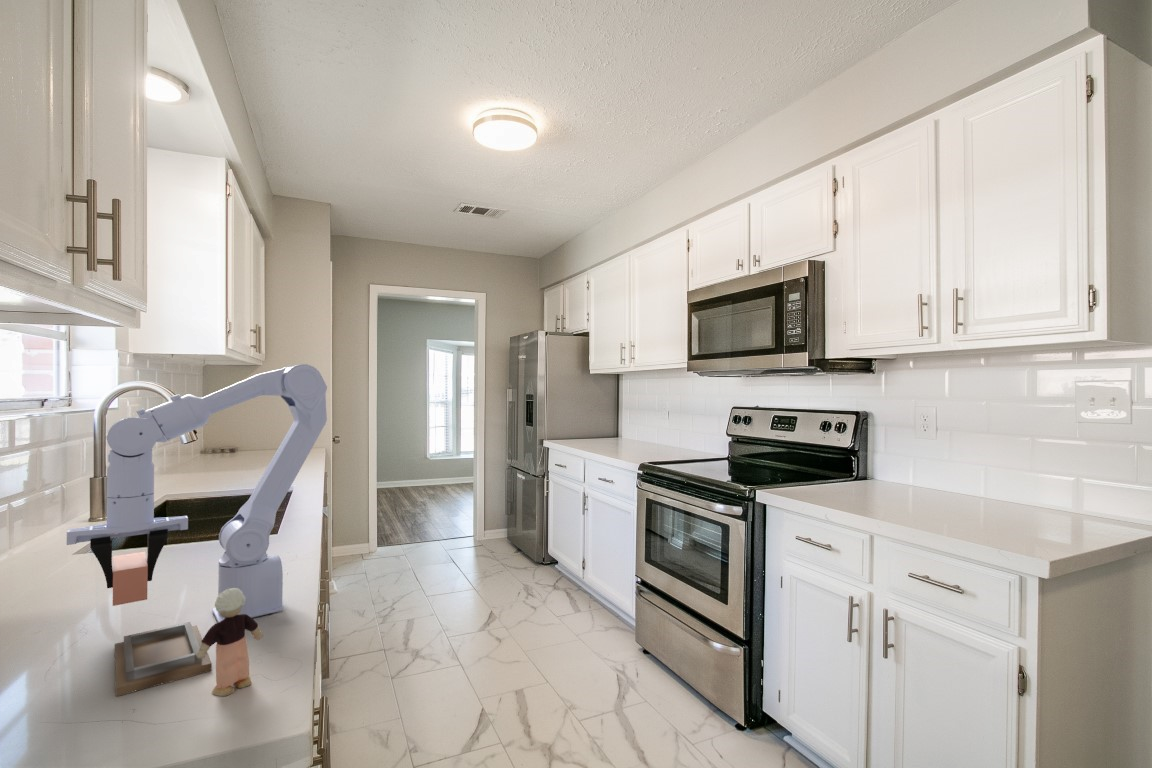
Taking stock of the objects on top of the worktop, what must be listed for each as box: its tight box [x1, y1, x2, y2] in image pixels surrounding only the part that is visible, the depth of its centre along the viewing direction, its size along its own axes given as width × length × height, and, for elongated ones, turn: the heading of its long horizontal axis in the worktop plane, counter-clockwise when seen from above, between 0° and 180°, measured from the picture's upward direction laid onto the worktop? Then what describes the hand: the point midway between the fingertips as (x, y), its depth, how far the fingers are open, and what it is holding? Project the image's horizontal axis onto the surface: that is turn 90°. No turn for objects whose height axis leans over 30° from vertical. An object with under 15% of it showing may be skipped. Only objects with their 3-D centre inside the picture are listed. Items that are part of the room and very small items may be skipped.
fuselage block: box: [112, 551, 149, 607], centre depth 86 cm, size 4×10×5 cm, turn 40°
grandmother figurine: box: [196, 588, 264, 697], centre depth 71 cm, size 8×4×13 cm, turn 159°
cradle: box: [114, 621, 213, 697], centre depth 78 cm, size 10×16×2 cm, turn 40°
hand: (129, 582), depth 86 cm, fingers closed on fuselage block, 4 cm apart
